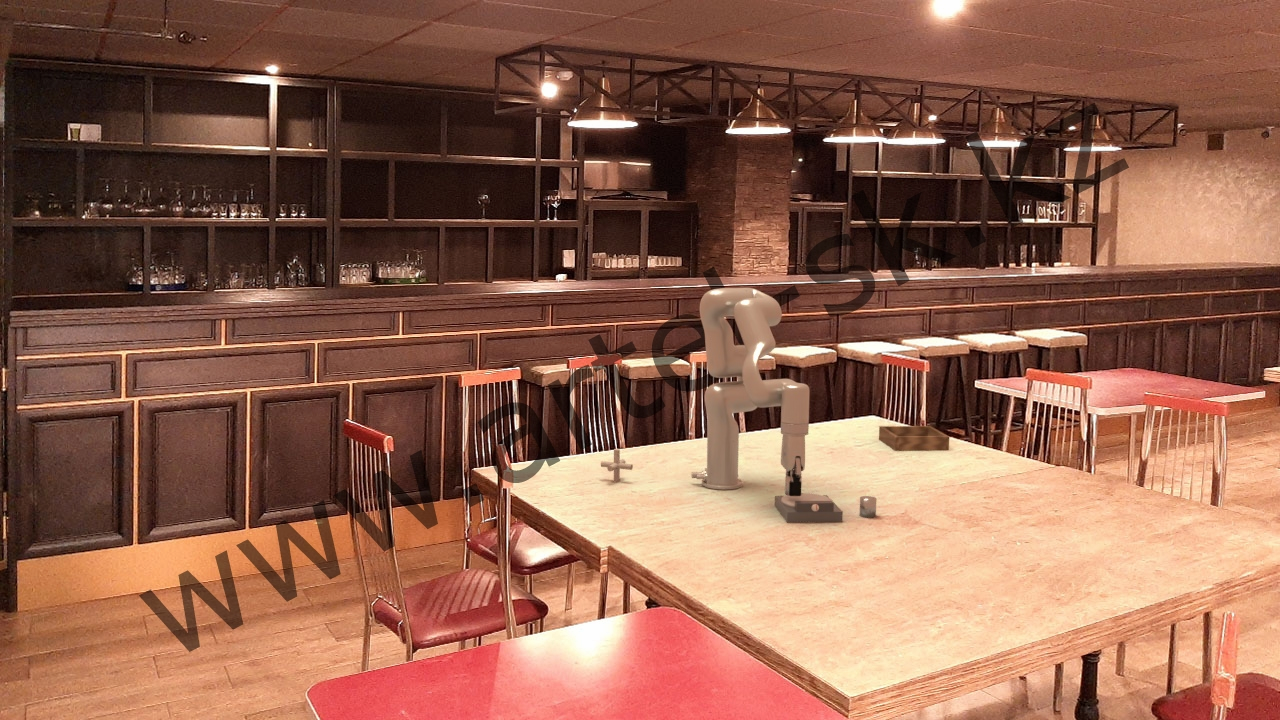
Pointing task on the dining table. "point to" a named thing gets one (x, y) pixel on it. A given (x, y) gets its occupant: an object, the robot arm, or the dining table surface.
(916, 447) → the brown wooden tray
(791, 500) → the scale
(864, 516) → the cylinder
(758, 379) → the robot arm
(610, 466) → the pipe connector
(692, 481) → the dining table surface
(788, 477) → the cylinder
